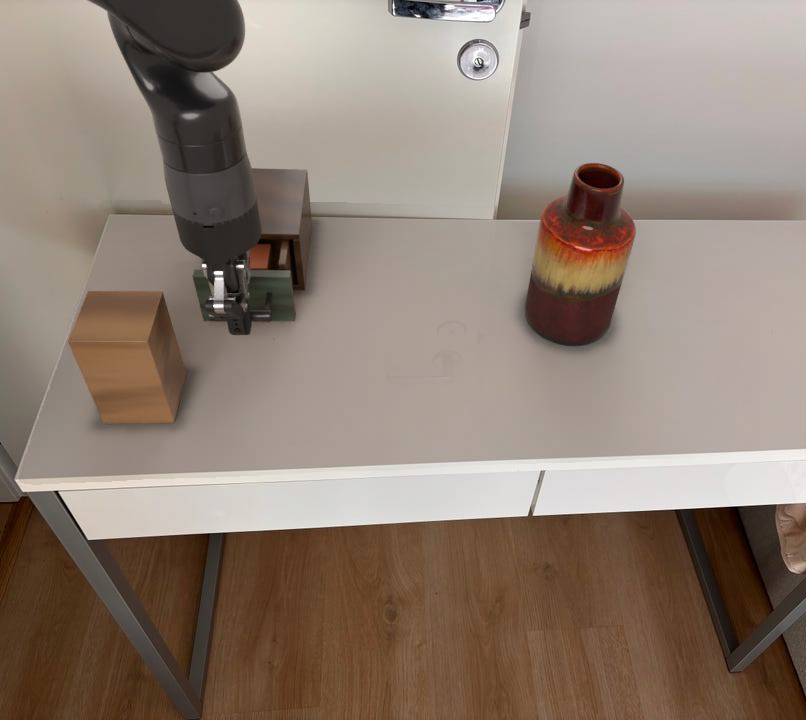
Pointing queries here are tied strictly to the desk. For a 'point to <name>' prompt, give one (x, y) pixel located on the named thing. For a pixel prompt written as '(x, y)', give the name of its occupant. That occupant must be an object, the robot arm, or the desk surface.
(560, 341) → the vase
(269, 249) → the block
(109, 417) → the stand
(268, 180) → the cabinet
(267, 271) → the drawer
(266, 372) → the desk surface
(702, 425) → the desk surface
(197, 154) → the robot arm
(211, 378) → the desk surface
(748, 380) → the desk surface
